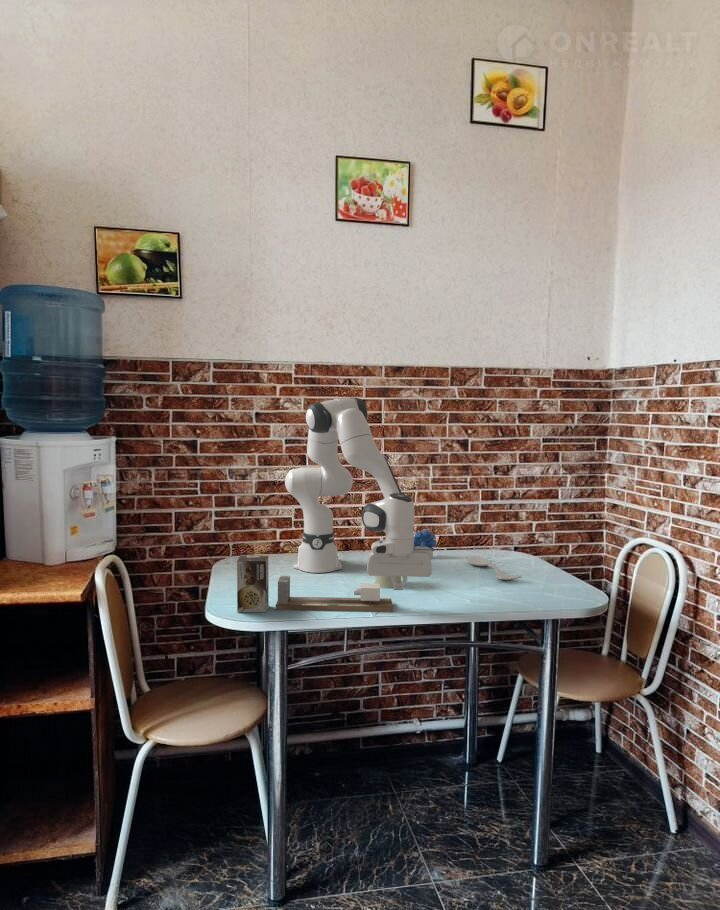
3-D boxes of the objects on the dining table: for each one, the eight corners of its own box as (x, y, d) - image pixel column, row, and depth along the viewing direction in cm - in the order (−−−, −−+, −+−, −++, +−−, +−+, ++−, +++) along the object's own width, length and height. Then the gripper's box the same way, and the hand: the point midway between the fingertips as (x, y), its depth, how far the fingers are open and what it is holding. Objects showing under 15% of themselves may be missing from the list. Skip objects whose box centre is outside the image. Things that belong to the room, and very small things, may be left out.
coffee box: (269, 605, 192) (269, 555, 190) (266, 613, 185) (267, 560, 184) (239, 605, 192) (239, 554, 190) (236, 612, 185) (236, 560, 184)
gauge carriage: (353, 597, 195) (354, 583, 195) (379, 597, 195) (379, 583, 195) (353, 604, 188) (354, 589, 188) (379, 604, 188) (380, 590, 188)
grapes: (433, 555, 259) (434, 527, 258) (437, 559, 252) (438, 531, 251) (406, 555, 257) (407, 527, 256) (409, 560, 251) (410, 531, 250)
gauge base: (279, 601, 197) (279, 575, 196) (391, 603, 197) (391, 577, 196) (275, 609, 189) (276, 582, 188) (392, 611, 189) (393, 584, 188)
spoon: (500, 585, 219) (500, 576, 219) (462, 562, 250) (462, 554, 250) (522, 584, 222) (523, 574, 221) (482, 561, 252) (482, 553, 252)
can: (402, 588, 212) (403, 554, 211) (376, 588, 212) (377, 554, 211) (399, 580, 222) (400, 548, 221) (373, 580, 221) (374, 547, 220)
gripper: (431, 544, 194) (430, 587, 195) (367, 543, 194) (366, 586, 195) (434, 549, 188) (433, 593, 189) (367, 547, 188) (366, 592, 189)
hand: (398, 589), depth 192 cm, fingers closed
